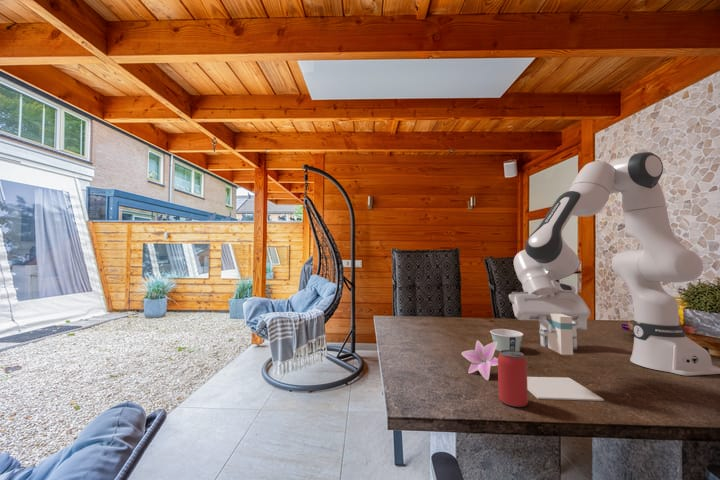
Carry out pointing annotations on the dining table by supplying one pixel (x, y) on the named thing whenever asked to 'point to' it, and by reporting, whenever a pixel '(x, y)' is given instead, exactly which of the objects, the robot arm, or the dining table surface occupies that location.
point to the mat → (559, 389)
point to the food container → (507, 339)
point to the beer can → (512, 378)
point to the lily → (482, 358)
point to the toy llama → (575, 326)
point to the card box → (561, 334)
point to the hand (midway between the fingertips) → (560, 332)
